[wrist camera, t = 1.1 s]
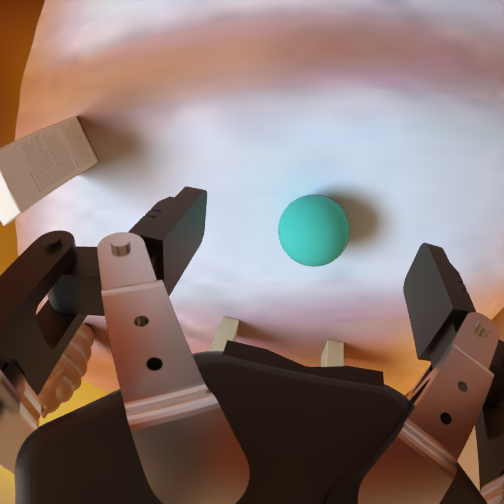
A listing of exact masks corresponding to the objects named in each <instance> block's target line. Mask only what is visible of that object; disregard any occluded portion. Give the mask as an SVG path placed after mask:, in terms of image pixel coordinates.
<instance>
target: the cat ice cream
mask: <svg viewBox="0 0 504 504" xmlns="http://www.w3.org/2000/svg"><path fill="white" fill-rule="evenodd" d="M93 342H94V332H93V330H92V329H91V328H90V327H89V326H87V325H84V324H81V326H80V327H79V329H78V330H77V332H76V333H75V335H74V337H73V338H72V340H71V341H70V343H69V344H68V346H67V348H66V349H65V351H64V353H63V354H62V356H61V358H60V359H59V361H58V362H57V364H56V366H55V368H54V369H53V371H52V373H51V374H50V376H49V378H48V379H47V381H46V383H45V385H44V386H43V388H42V390H41V392H40V394H39V395H38V398H39V400H40V403H41V416H42V417H43V418H45V417H46V415H47V414H48V413H51V412H53V411H55V410H56V409H57V408H58V407H59V406H60V404H61V403H62V402H66V401H68V400H69V399H70V398H71V397H72V395H73V392H74V391H75V390H76V389H78V388H79V387H80V385H81V377H82V376H84V374H85V373H86V371H87V362H88V361H89V359H90V356H91V346H92V344H93Z"/></svg>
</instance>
